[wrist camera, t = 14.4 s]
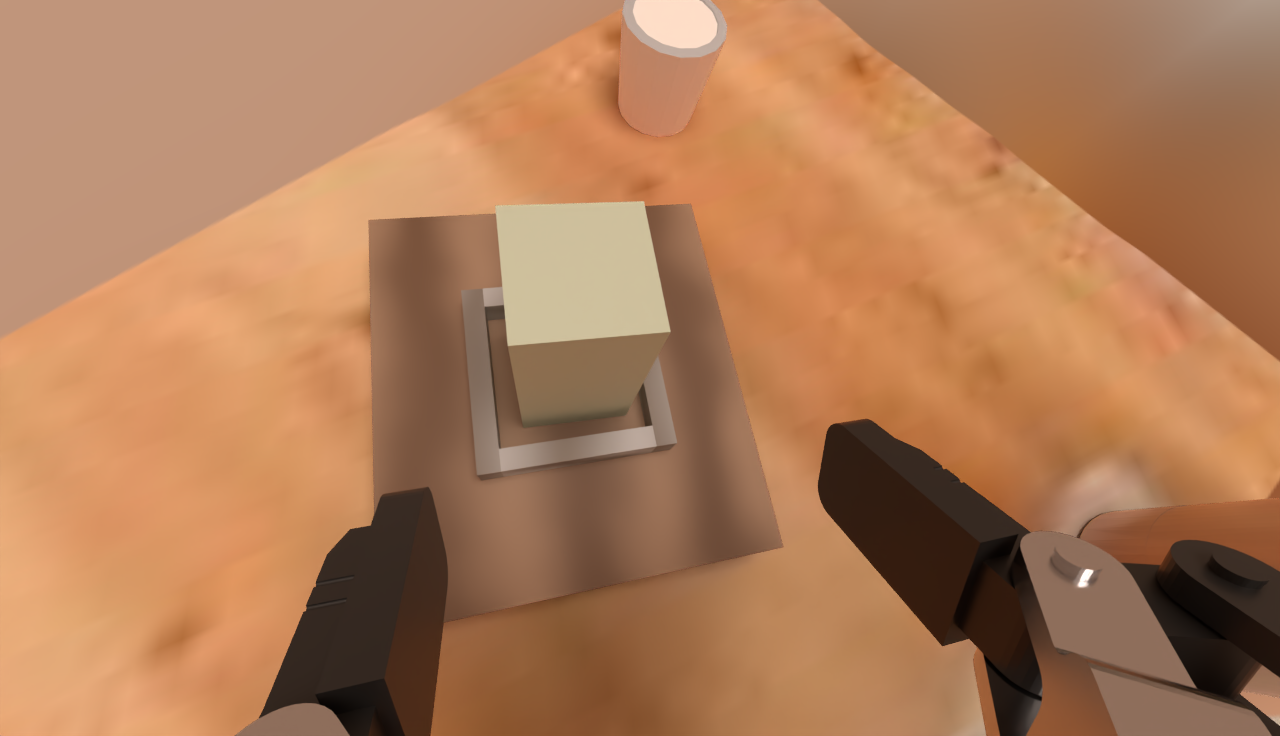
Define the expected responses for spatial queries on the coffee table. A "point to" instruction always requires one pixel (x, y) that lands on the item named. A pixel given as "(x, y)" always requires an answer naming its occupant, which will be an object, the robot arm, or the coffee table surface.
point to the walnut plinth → (555, 427)
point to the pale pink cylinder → (666, 61)
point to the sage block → (579, 307)
